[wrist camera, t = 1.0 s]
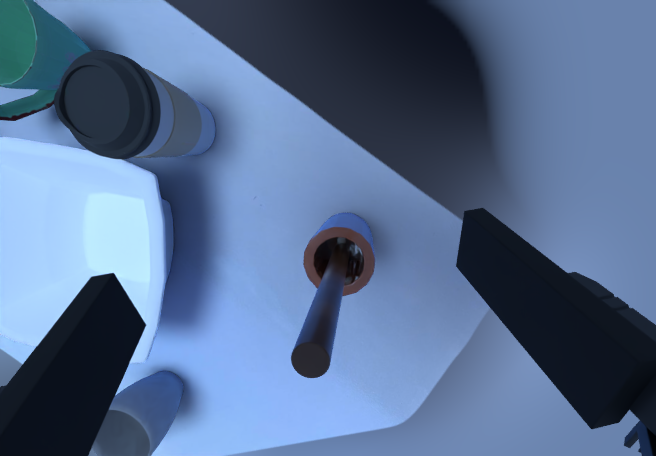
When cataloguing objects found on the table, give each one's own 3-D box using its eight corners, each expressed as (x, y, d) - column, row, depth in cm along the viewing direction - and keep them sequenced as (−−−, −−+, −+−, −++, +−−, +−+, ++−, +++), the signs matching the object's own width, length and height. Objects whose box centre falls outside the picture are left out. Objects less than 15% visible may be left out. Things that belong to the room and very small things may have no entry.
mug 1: (72, 8, 39) (-27, -47, 29) (131, 61, 39) (53, 23, 29) (21, 102, 42) (-84, 81, 32) (77, 150, 42) (-11, 143, 32)
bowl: (46, 137, 42) (-53, 125, 32) (218, 166, 40) (169, 164, 30) (49, 298, 47) (-36, 331, 37) (203, 332, 45) (157, 377, 35)
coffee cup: (215, 84, 38) (122, 28, 24) (231, 156, 40) (153, 146, 25) (150, 99, 40) (25, 55, 25) (168, 169, 41) (59, 166, 26)
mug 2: (148, 351, 46) (94, 397, 37) (201, 374, 46) (159, 426, 37) (130, 413, 49) (75, 470, 40) (180, 435, 49) (136, 498, 39)
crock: (348, 201, 39) (342, 212, 28) (382, 241, 39) (389, 267, 28) (309, 234, 40) (289, 257, 29) (342, 273, 41) (335, 309, 30)
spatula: (337, 225, 39) (287, 323, 14) (351, 225, 39) (328, 324, 13) (339, 252, 40) (293, 395, 14) (352, 252, 39) (332, 396, 14)
